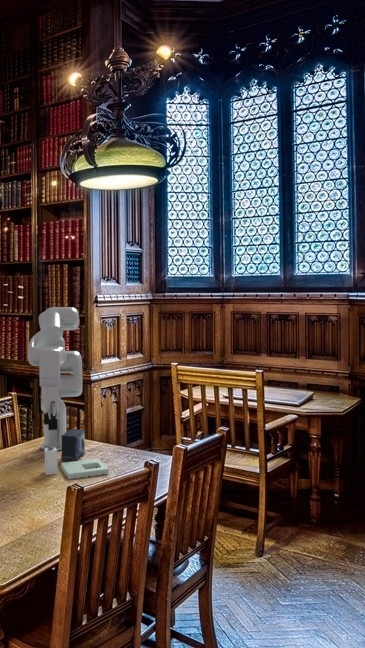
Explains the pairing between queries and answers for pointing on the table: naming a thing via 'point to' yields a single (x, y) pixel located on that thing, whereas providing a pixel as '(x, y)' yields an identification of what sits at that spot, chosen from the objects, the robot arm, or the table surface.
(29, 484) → the table surface
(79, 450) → the small box
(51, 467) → the block
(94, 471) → the plate
